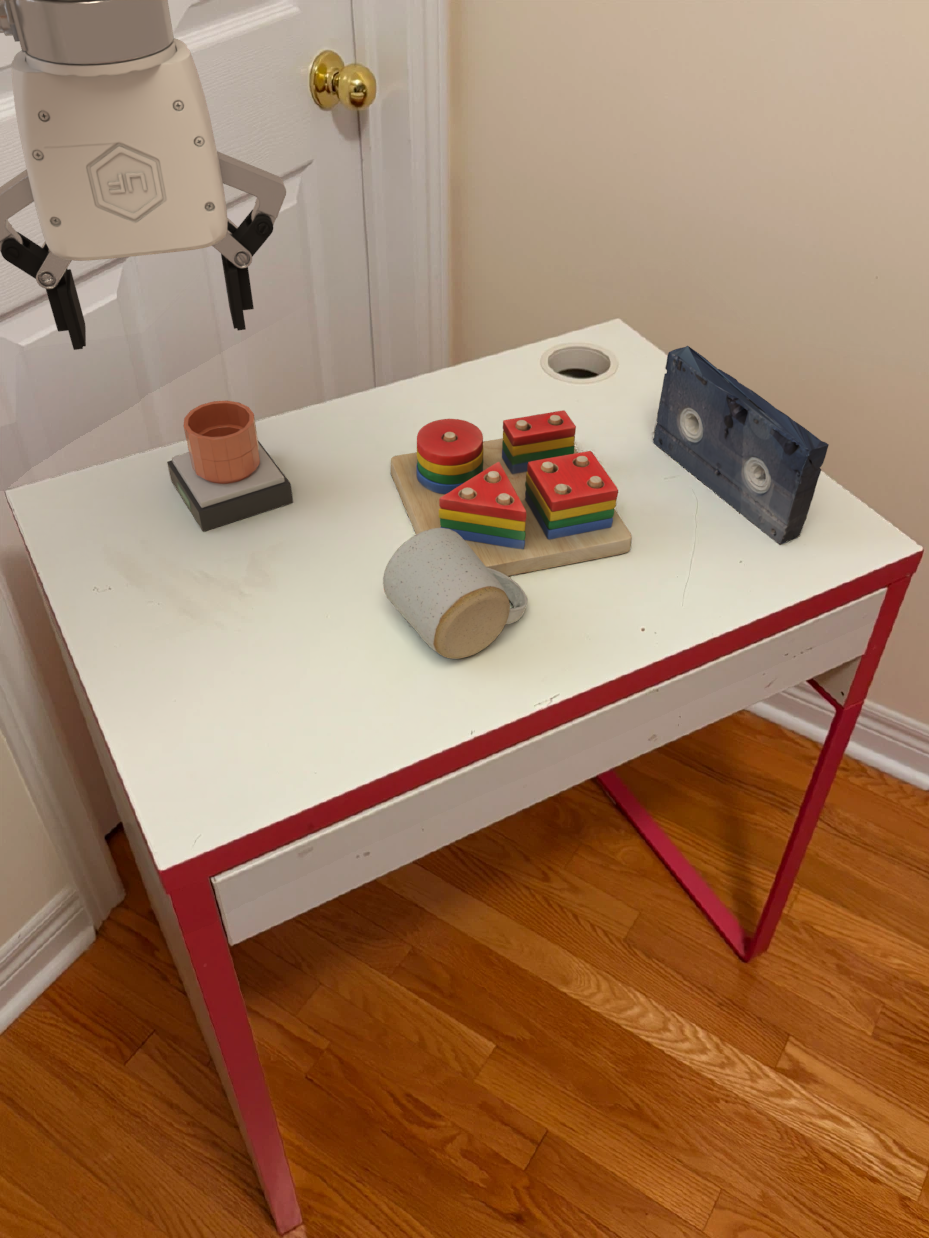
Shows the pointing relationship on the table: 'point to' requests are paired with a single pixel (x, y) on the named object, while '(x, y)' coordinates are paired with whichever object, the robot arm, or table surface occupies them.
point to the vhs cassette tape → (738, 444)
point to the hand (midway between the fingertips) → (160, 329)
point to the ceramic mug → (450, 593)
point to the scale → (230, 492)
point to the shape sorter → (513, 493)
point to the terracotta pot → (222, 441)
